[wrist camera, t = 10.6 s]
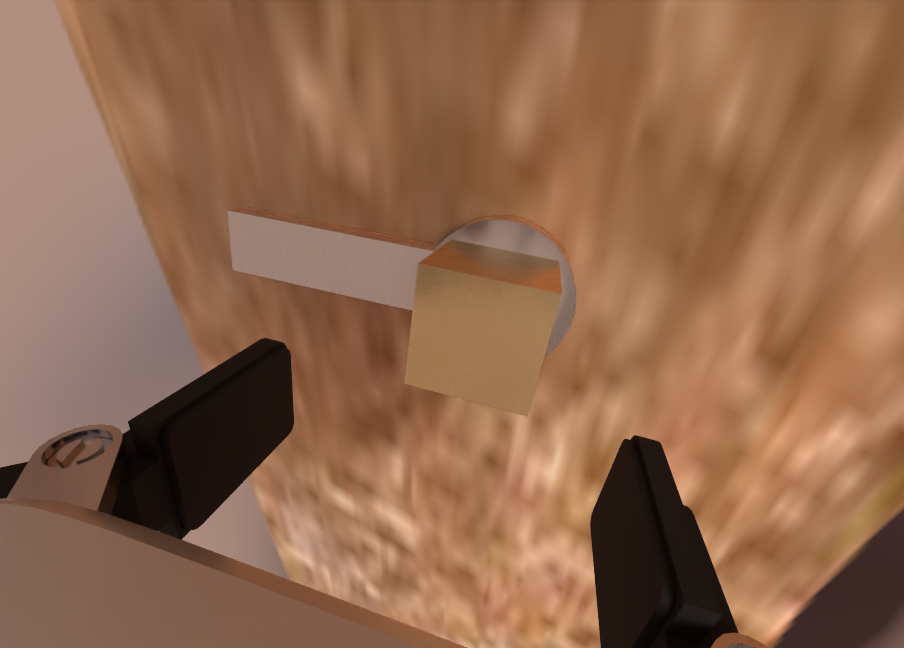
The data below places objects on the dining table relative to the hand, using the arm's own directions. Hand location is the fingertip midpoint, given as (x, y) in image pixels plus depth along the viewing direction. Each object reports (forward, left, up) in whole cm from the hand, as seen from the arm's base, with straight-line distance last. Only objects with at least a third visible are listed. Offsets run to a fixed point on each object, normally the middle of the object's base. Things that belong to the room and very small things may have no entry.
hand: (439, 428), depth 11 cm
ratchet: (+1, -7, -15) cm, 17 cm away
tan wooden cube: (+1, 0, -13) cm, 13 cm away
